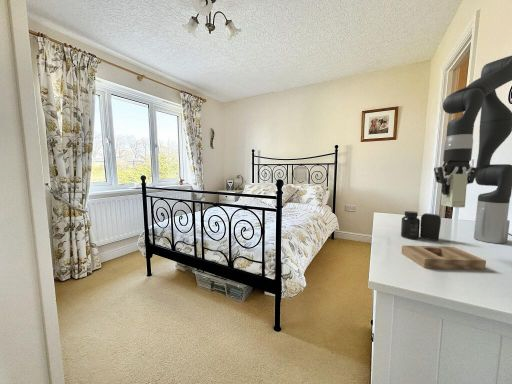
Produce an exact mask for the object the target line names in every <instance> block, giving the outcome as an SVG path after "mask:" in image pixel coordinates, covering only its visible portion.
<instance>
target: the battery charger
mask: <svg viewBox="0 0 512 384" xmlns="http://www.w3.org/2000/svg"><path fill="white" fill-rule="evenodd" d="M441 225H442V217H441V215H439V214H436V213H427V212H425V213H423V214H421V217H420V228H419V238H421V239H422V238H423V239H428V240H433V241H439V240H440V231H441Z"/></svg>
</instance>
